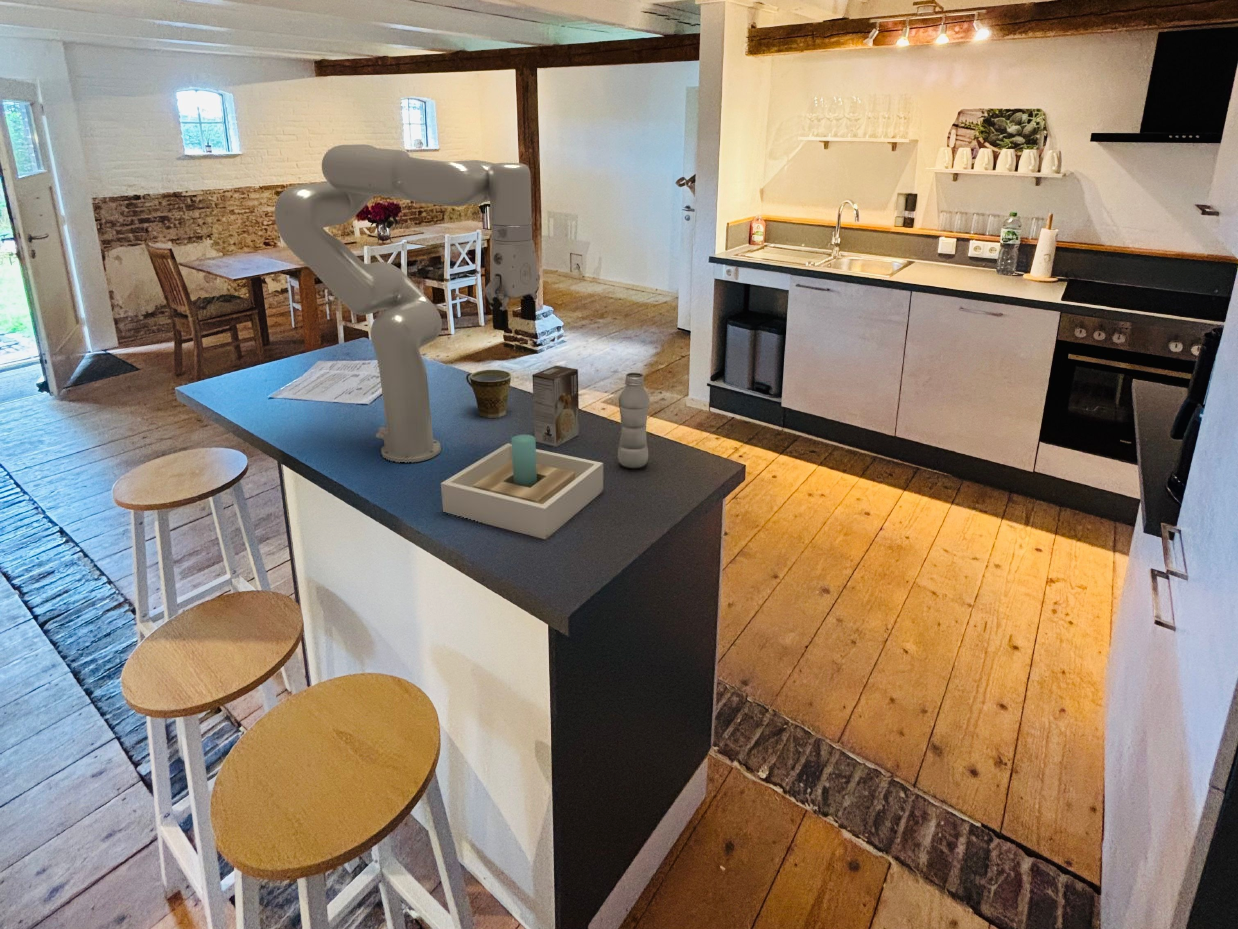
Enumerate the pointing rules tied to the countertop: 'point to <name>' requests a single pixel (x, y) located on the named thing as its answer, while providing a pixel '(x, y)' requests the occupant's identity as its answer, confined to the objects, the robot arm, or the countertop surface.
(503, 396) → the ceramic cup
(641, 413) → the plastic bottle
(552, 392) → the coffee box
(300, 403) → the countertop surface
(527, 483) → the peg
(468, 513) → the open box
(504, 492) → the bore plate
